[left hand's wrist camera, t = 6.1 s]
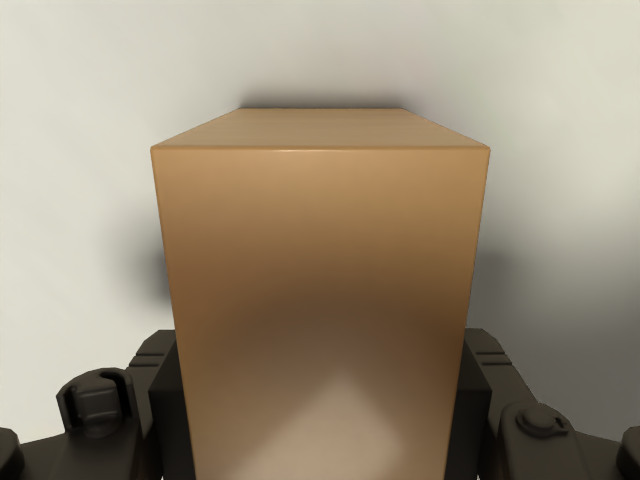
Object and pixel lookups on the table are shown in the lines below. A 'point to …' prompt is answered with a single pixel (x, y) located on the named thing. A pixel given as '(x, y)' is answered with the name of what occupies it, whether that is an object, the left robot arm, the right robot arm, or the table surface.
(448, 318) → the bar
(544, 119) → the table surface
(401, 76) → the table surface
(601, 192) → the table surface
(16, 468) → the left robot arm
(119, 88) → the table surface
